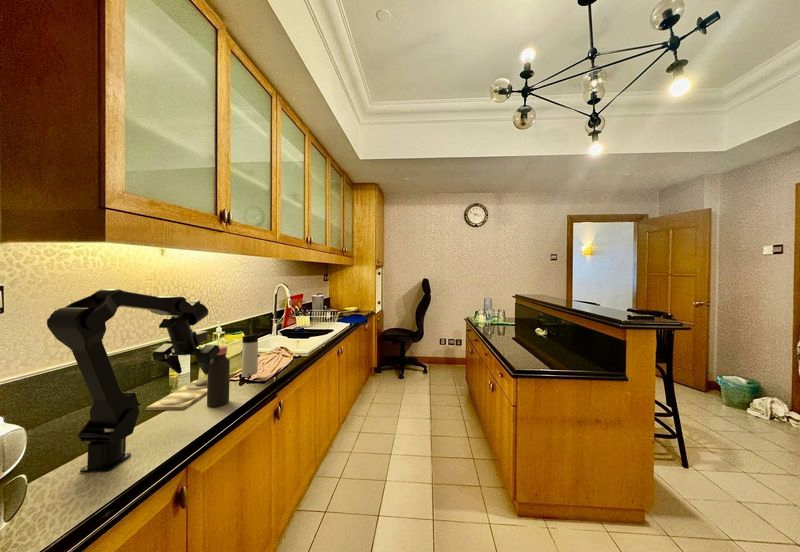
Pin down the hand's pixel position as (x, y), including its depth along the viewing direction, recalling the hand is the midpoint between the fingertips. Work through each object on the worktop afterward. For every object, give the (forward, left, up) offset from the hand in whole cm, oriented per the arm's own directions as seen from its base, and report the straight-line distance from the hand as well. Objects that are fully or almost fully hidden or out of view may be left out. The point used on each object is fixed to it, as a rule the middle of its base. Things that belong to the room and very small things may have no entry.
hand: (193, 373), depth 99 cm
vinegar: (+7, -5, -13) cm, 15 cm away
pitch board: (+16, +10, -13) cm, 23 cm away
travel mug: (+33, -5, -13) cm, 35 cm away
